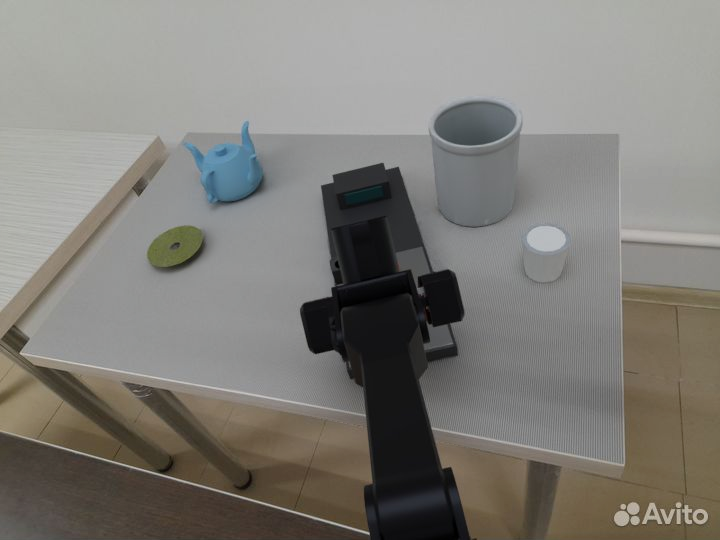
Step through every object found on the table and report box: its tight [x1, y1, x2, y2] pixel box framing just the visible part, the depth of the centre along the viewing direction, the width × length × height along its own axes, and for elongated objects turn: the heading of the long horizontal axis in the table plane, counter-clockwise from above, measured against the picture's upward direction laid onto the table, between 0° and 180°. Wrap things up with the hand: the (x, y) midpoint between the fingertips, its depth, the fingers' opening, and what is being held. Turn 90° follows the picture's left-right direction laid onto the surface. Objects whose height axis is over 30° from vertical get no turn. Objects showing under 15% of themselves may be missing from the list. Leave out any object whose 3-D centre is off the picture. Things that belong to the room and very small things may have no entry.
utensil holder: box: [428, 94, 524, 228], centre depth 90 cm, size 15×15×18 cm
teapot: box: [182, 120, 264, 204], centre depth 111 cm, size 15×15×10 cm
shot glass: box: [521, 222, 572, 284], centre depth 80 cm, size 7×7×7 cm
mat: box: [146, 225, 204, 268], centre depth 102 cm, size 11×11×2 cm
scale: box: [320, 162, 459, 380], centre depth 89 cm, size 44×16×6 cm, turn 8°
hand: (381, 304), depth 70 cm, fingers open, 9 cm apart
